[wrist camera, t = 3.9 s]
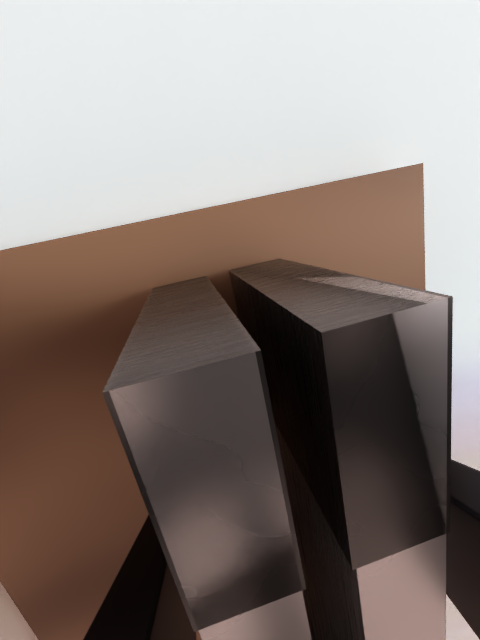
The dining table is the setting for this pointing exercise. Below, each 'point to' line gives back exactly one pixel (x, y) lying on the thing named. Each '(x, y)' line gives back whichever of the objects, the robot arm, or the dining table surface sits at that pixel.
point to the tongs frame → (359, 441)
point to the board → (106, 346)
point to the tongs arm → (210, 464)
